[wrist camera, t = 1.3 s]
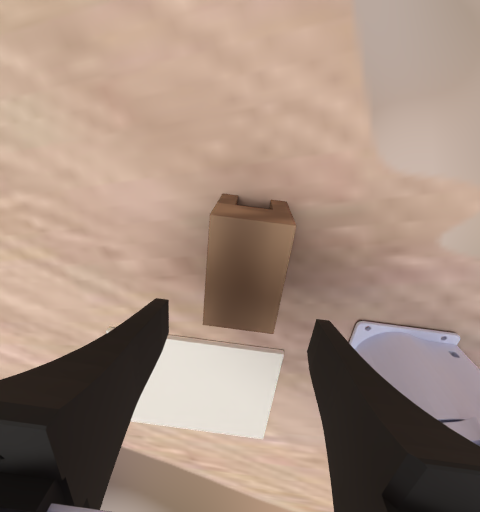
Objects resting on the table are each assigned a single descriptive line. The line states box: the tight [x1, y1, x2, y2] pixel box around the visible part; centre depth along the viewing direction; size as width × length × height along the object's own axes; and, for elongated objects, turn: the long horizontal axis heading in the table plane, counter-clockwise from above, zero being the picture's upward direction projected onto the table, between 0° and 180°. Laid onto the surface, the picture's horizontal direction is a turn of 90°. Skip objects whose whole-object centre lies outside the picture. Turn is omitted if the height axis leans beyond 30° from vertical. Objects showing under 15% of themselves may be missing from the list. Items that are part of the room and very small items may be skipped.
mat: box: [106, 327, 284, 439], centre depth 30 cm, size 18×14×1 cm
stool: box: [203, 194, 296, 334], centre depth 19 cm, size 5×8×6 cm, turn 173°
